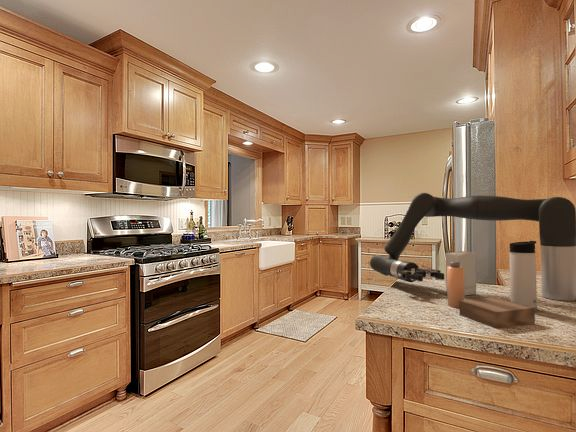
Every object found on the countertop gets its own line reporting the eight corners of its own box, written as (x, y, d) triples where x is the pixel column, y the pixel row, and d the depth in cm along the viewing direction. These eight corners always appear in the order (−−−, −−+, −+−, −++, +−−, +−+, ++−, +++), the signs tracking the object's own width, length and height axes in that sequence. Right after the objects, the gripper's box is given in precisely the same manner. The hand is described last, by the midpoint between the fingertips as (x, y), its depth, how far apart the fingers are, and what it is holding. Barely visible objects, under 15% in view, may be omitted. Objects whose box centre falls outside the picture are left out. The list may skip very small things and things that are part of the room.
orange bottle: (456, 303, 103) (455, 260, 103) (468, 307, 99) (466, 262, 99) (444, 304, 102) (443, 261, 102) (455, 308, 98) (454, 263, 98)
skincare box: (463, 291, 119) (461, 250, 120) (477, 294, 114) (476, 252, 114) (445, 293, 117) (444, 252, 117) (459, 297, 111) (458, 253, 111)
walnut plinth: (494, 310, 94) (493, 297, 94) (534, 323, 82) (534, 307, 83) (459, 314, 91) (459, 300, 91) (496, 328, 80) (496, 312, 80)
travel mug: (543, 312, 92) (541, 241, 92) (517, 311, 93) (515, 241, 93) (531, 306, 98) (529, 240, 98) (507, 305, 99) (505, 240, 100)
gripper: (387, 262, 124) (414, 267, 109) (420, 260, 128) (450, 265, 112) (388, 281, 124) (415, 290, 109) (420, 279, 128) (450, 287, 112)
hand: (432, 277), depth 110 cm, fingers open, 8 cm apart
